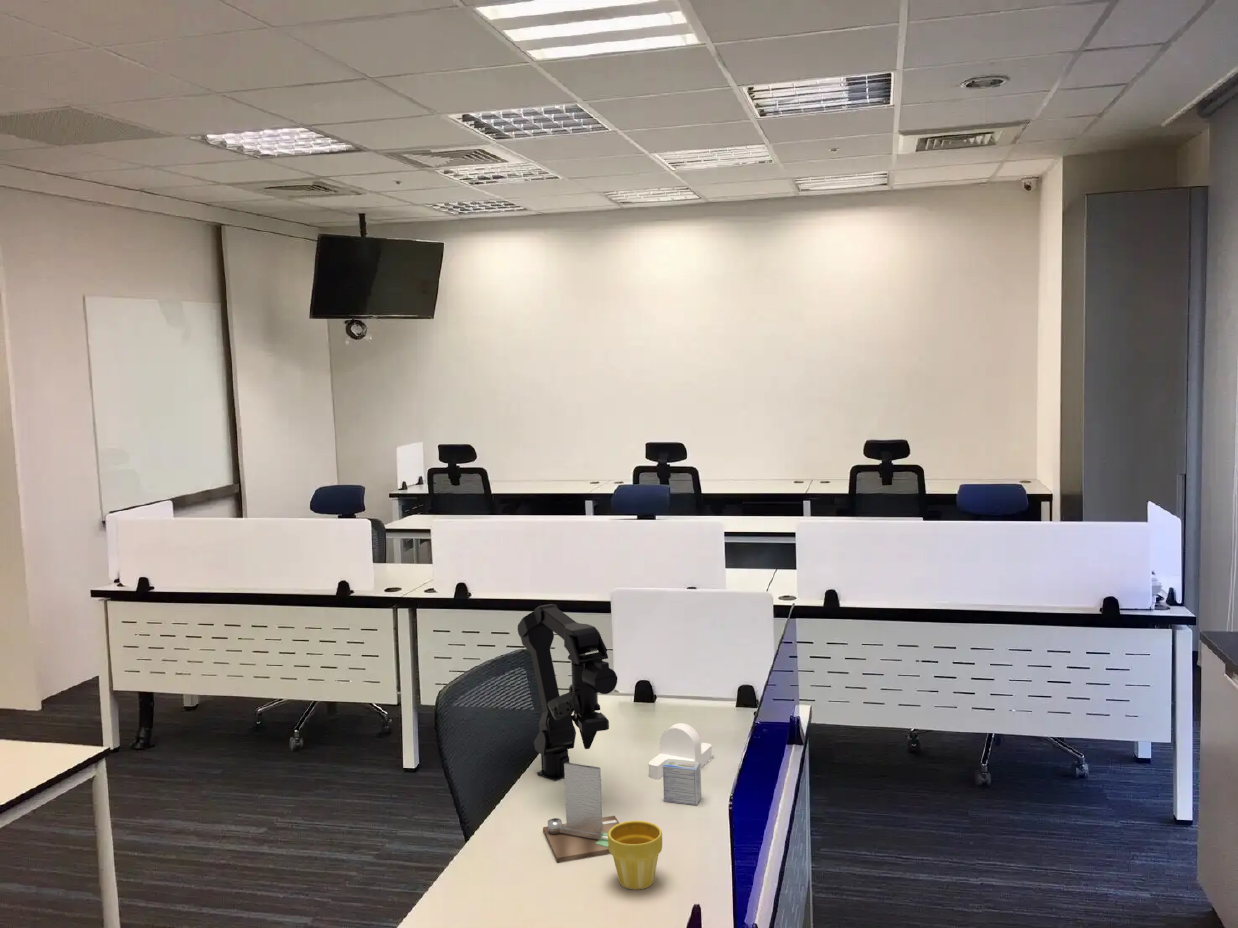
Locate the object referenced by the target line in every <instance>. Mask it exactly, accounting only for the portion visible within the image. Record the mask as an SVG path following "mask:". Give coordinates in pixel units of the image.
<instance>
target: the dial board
mask: <svg viewBox="0 0 1238 928" xmlns="http://www.w3.org/2000/svg"><path fill="white" fill-rule="evenodd" d="M619 823H620V822H619V820H618V818H617V817H616V815H610V816H605V817H604V816H602V826H603V836H607V837H608V832H609V830H610V829H611V828H612V827H613V826H615V825H617V824H619ZM562 825H563V826H566V823H562ZM542 832H543V834H544V837H545V839H546V841H547V844H548V845H549V847H550V849H551V853H552V854H553V856H554V859H555V861H556V863H558V864H559V863H564V862H569V861H570V862H571V861H575V860H580V859H581V860H582V859H587V858H593V857H598V856H604V855H609V854H610V855H611V853H610V852H609V847H608V840H605V839H601V840H598V839H593V838H587V837H582V836H576V835H571V834H565V833H558V834H551V833H549V832H548V825H546V826H543V827H542Z"/></svg>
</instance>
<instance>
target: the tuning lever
mask: <svg viewBox="0 0 1238 928" xmlns="http://www.w3.org/2000/svg"><path fill="white" fill-rule="evenodd" d="M601 768H602V767H600V766H593V765H587V764H586V765H585V764H580V763H572V762H569V763H567V762H566V763H565V764H564V773H565V776H564V792H565V793H564V794H565V795H564V796H565V797H564V798H565V821H566V823H565V824H566V826H563V825H562V824H563V820H562V819H560V818H559V817H558V818H555V817H553V818H550V819H548V820H547V826H548V832H549V833H551V834H558V833H565V834H571V835H576V836H582V837H587V838H593V839H598V840H601V839H605V840H608V837H607V836H603V826H602V818H603V806H602V804H603V802H602V776H601V770H602V769H601Z"/></svg>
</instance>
